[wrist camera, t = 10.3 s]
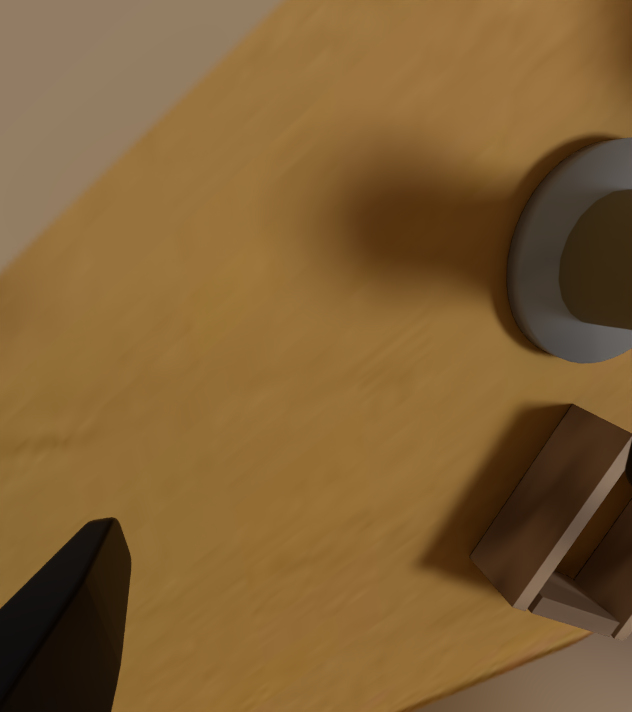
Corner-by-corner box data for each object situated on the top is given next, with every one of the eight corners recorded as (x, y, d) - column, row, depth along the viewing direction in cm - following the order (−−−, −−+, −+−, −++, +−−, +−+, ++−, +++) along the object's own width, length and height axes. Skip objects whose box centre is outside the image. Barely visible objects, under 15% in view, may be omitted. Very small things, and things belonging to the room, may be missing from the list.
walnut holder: (575, 594, 30) (623, 641, 27) (469, 557, 26) (512, 607, 23) (668, 464, 29) (730, 497, 26) (572, 403, 25) (633, 434, 22)
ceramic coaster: (539, 393, 24) (554, 401, 23) (478, 212, 20) (494, 212, 19) (690, 290, 25) (709, 294, 24) (662, 97, 21) (685, 92, 20)
